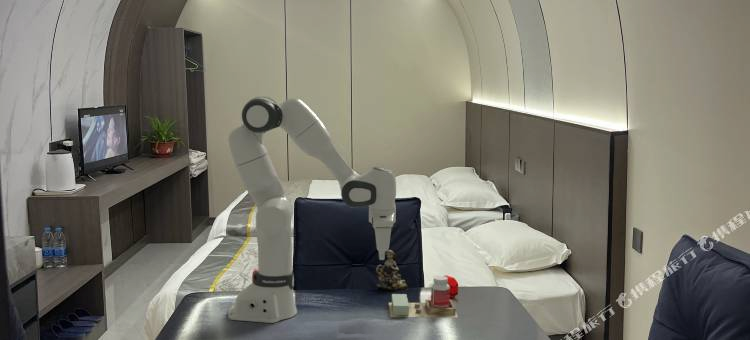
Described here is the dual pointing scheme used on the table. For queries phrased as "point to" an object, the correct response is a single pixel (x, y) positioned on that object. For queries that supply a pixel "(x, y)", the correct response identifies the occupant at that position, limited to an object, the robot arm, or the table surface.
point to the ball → (452, 286)
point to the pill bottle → (440, 292)
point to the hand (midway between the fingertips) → (381, 257)
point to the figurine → (390, 275)
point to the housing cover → (400, 304)
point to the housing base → (427, 310)
